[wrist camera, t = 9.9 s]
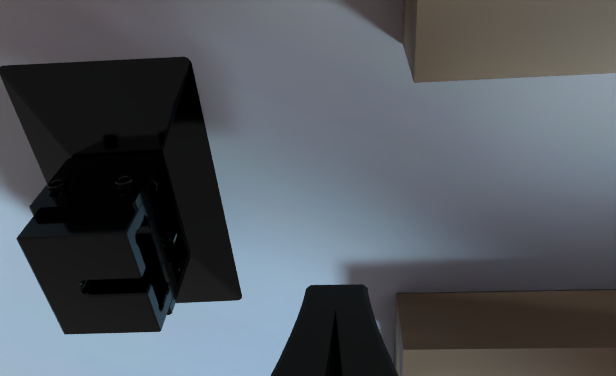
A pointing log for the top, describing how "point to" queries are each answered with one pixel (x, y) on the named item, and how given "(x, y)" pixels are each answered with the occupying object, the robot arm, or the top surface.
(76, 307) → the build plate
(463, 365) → the wooden stepped rails
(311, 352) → the robot arm
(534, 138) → the top surface
